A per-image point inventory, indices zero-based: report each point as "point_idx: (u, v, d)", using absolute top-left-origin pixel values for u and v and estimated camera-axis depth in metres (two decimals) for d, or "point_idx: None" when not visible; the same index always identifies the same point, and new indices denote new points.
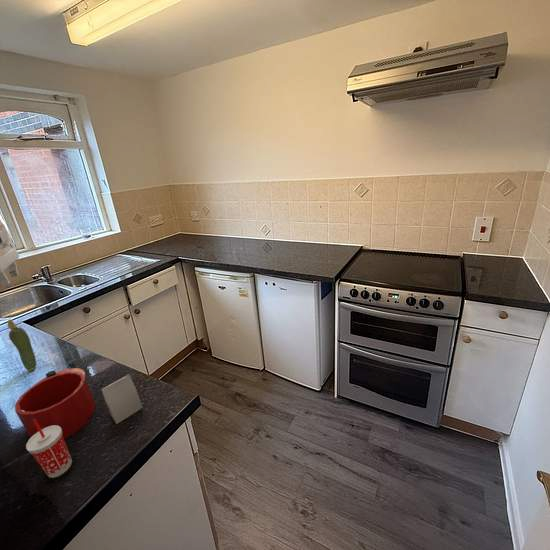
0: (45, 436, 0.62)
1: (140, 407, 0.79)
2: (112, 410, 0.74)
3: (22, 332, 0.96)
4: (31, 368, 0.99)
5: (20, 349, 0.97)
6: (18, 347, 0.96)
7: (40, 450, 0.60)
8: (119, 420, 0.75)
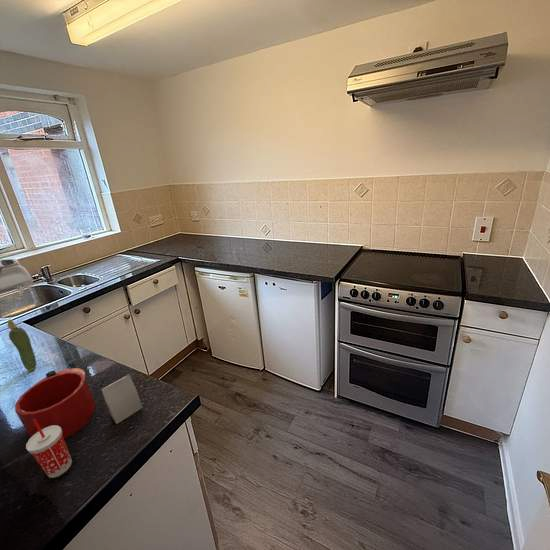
0: (45, 436, 0.62)
1: (140, 407, 0.79)
2: (112, 410, 0.74)
3: (22, 332, 0.96)
4: (31, 368, 0.99)
5: (20, 349, 0.97)
6: (18, 347, 0.96)
7: (40, 451, 0.60)
8: (119, 420, 0.75)
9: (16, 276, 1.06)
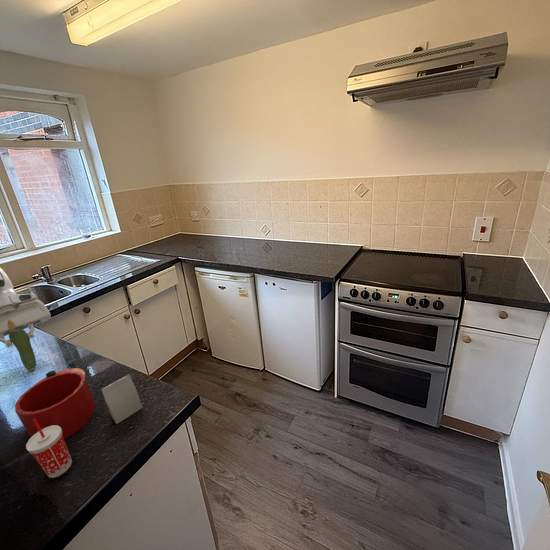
0: (45, 436, 0.62)
1: (140, 407, 0.79)
2: (112, 410, 0.74)
3: (22, 332, 0.96)
4: (31, 368, 0.99)
5: (20, 350, 0.97)
6: (18, 347, 0.96)
7: (40, 451, 0.60)
8: (119, 420, 0.75)
9: (33, 312, 1.01)
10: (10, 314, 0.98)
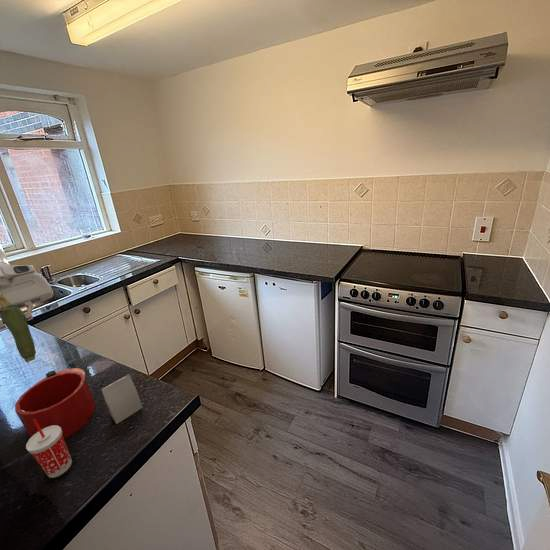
0: (45, 436, 0.62)
1: (140, 407, 0.79)
2: (112, 410, 0.74)
3: (17, 311, 0.76)
4: (29, 357, 0.79)
5: (15, 334, 0.77)
6: (12, 330, 0.76)
7: (40, 451, 0.60)
8: (119, 420, 0.75)
9: (32, 288, 0.81)
10: (3, 289, 0.78)
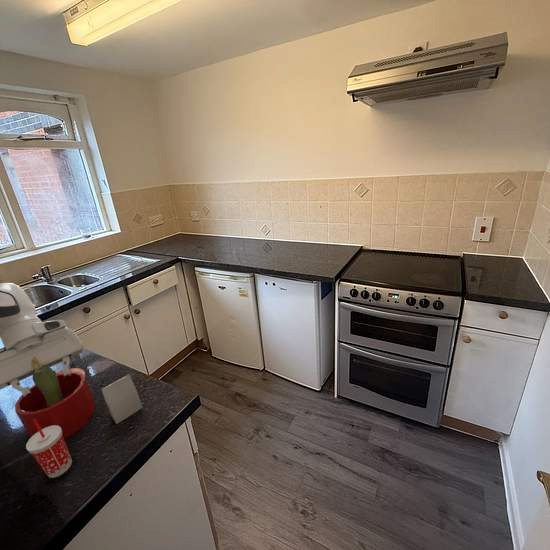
0: (45, 436, 0.62)
1: (140, 407, 0.79)
2: (112, 410, 0.74)
3: (49, 372, 0.73)
4: None
5: (46, 395, 0.74)
6: (44, 392, 0.73)
7: (40, 451, 0.60)
8: (119, 420, 0.75)
9: (63, 344, 0.78)
10: (34, 348, 0.75)
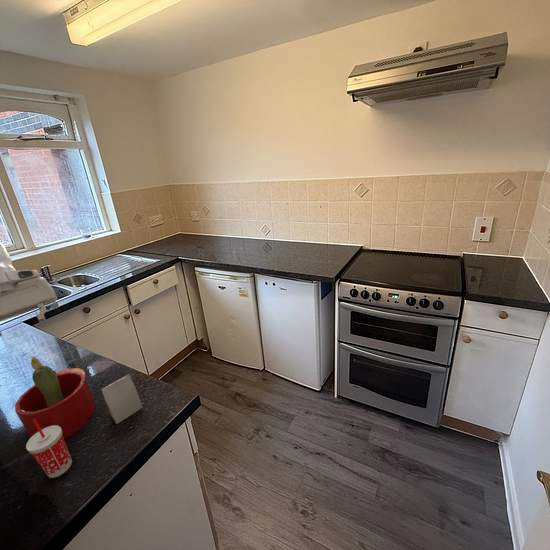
0: (45, 436, 0.62)
1: (140, 407, 0.79)
2: (112, 410, 0.74)
3: (49, 372, 0.73)
4: None
5: (46, 395, 0.74)
6: (44, 392, 0.73)
7: (40, 451, 0.60)
8: (119, 420, 0.75)
9: (36, 292, 0.82)
10: (8, 294, 0.80)
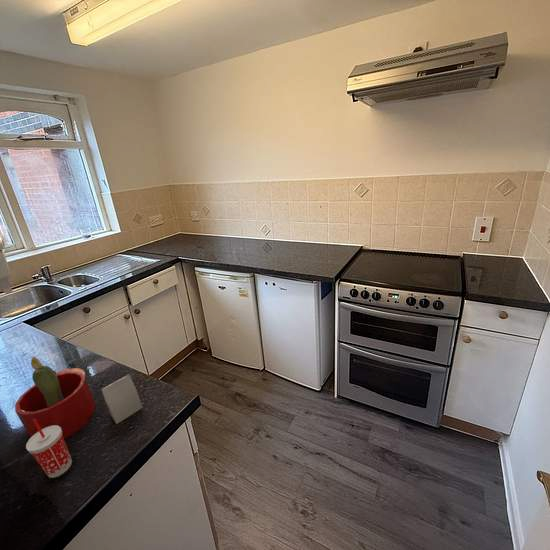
0: (45, 436, 0.62)
1: (140, 407, 0.79)
2: (112, 410, 0.74)
3: (49, 372, 0.73)
4: None
5: (46, 395, 0.74)
6: (44, 392, 0.73)
7: (40, 451, 0.60)
8: (119, 420, 0.75)
9: None
10: None
